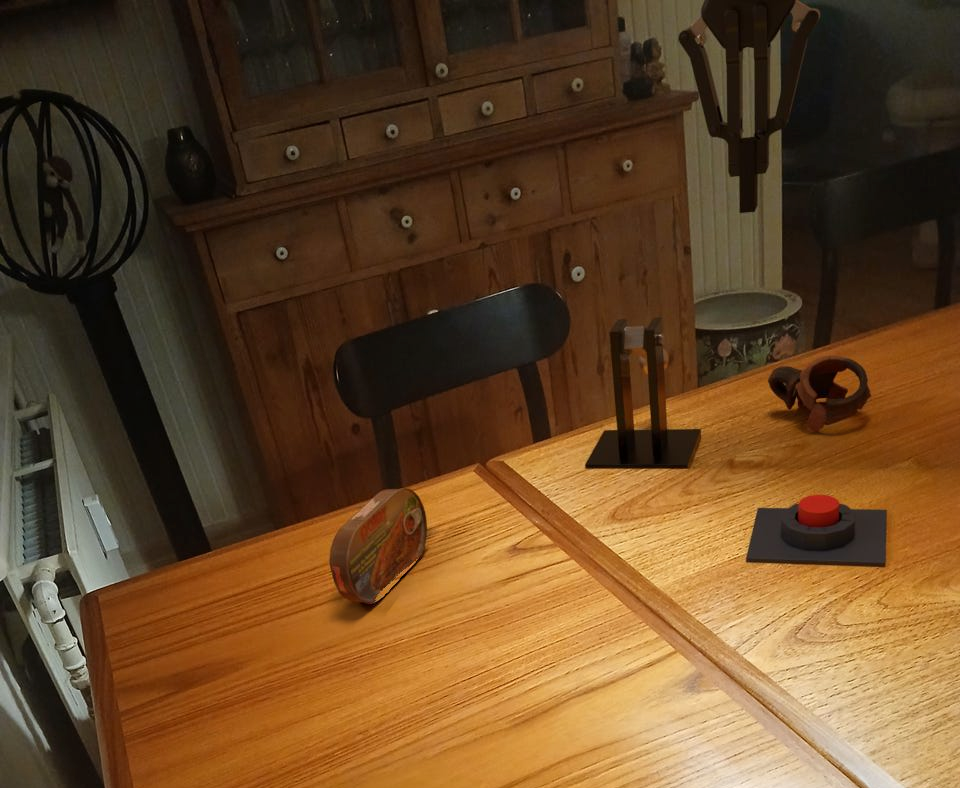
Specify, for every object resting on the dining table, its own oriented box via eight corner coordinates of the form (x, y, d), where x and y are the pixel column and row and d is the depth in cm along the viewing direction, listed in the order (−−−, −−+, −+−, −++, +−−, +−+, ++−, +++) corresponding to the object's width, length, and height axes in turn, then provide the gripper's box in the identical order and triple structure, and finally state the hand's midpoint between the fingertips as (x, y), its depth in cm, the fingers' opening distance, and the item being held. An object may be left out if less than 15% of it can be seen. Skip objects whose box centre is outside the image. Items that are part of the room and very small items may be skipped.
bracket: (604, 438, 124) (593, 313, 115) (701, 437, 120) (697, 307, 111) (585, 473, 116) (572, 342, 108) (687, 474, 112) (682, 337, 103)
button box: (885, 529, 96) (888, 492, 93) (883, 583, 88) (887, 544, 86) (757, 526, 100) (757, 491, 98) (746, 578, 92) (745, 540, 90)
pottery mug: (868, 402, 122) (885, 357, 114) (846, 462, 118) (861, 420, 111) (773, 377, 125) (783, 332, 118) (748, 435, 122) (757, 392, 114)
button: (839, 511, 93) (840, 494, 92) (837, 529, 90) (838, 512, 89) (799, 510, 94) (800, 494, 93) (796, 528, 91) (796, 512, 90)
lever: (641, 379, 122) (642, 349, 122) (670, 378, 121) (671, 348, 121) (617, 354, 110) (619, 321, 109) (649, 353, 108) (651, 320, 108)
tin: (363, 619, 97) (343, 545, 92) (337, 616, 98) (316, 542, 93) (434, 545, 107) (420, 474, 103) (410, 542, 109) (394, 473, 104)
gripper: (827, -87, 88) (818, 194, 101) (681, -59, 93) (690, 206, 106) (822, -86, 83) (813, 212, 96) (667, -57, 87) (678, 224, 100)
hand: (748, 209), depth 101 cm, fingers closed
